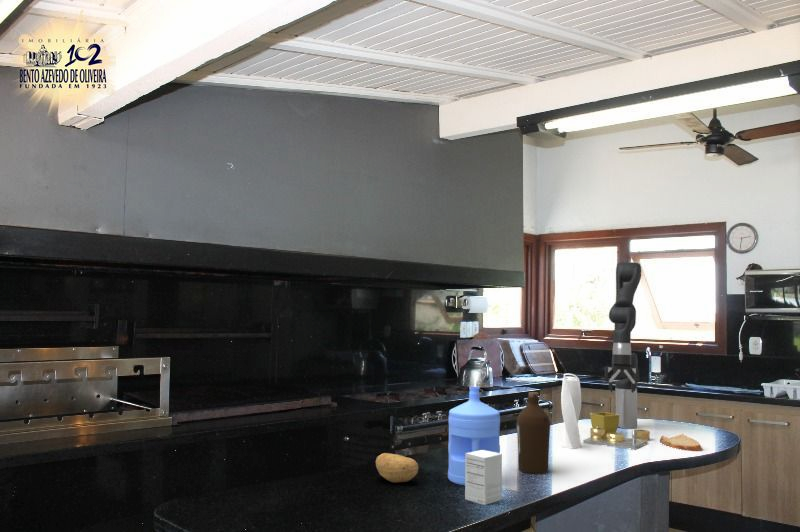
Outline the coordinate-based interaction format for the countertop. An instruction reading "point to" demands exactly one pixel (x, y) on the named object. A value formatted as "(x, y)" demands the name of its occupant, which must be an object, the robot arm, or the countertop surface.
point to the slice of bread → (681, 443)
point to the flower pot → (605, 421)
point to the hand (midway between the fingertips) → (621, 392)
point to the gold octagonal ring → (642, 434)
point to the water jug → (471, 433)
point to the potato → (396, 467)
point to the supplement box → (483, 477)
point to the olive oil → (533, 437)
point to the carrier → (613, 439)
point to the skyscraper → (571, 411)
